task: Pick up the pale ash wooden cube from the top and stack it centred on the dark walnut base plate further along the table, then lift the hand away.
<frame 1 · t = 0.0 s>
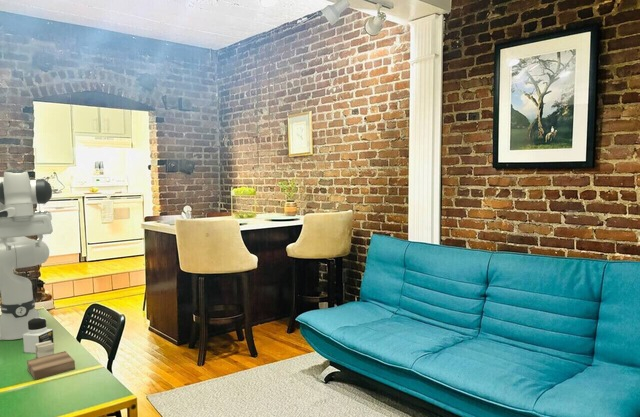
hand: (23, 248, 180), 39 cm above the table, tool pointing down, fingers open, 8 cm apart
ash cube: (45, 357, 175), on the table
walnut base: (51, 369, 164), on the table
medicine bottle: (39, 350, 183), on the table
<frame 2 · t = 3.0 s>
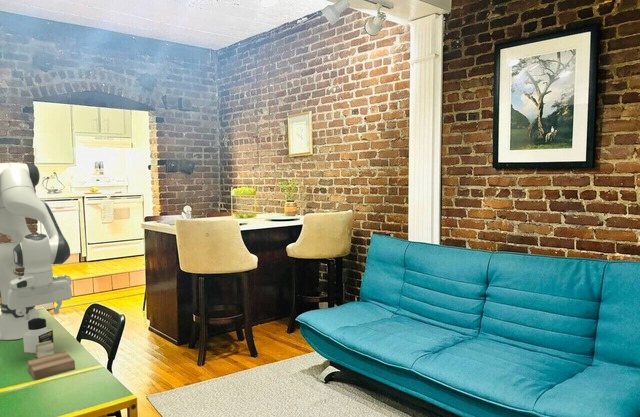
hand: (42, 316, 174), 15 cm above the table, tool pointing down, fingers open, 8 cm apart
nothing on the table moved.
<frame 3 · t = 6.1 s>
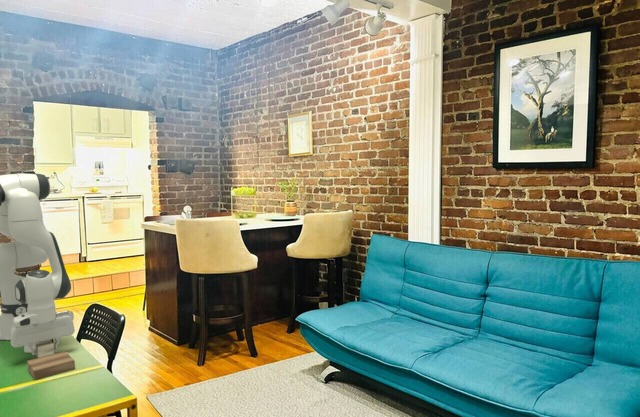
hand: (44, 352, 175), 2 cm above the table, tool pointing down, fingers closed on ash cube, 5 cm apart
ash cube: (45, 356, 175), on the table, touching gripper
everything else where it was.
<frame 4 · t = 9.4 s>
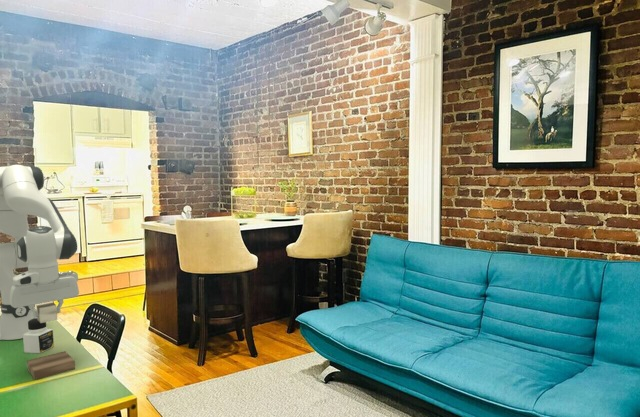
hand: (47, 314, 162), 19 cm above the table, tool pointing down, fingers closed on ash cube, 5 cm apart
ash cube: (47, 319, 162), point 17 cm above the table, touching gripper
everything else where it was.
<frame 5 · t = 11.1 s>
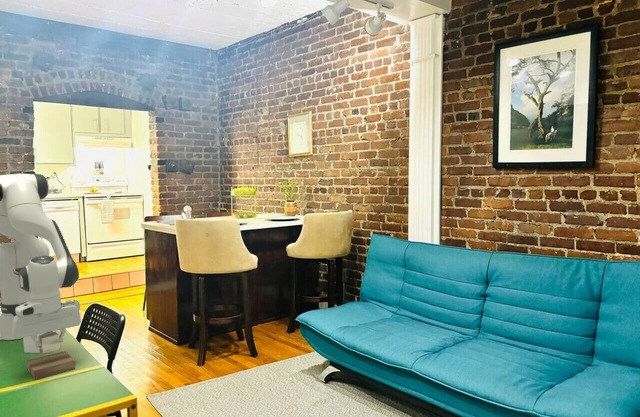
hand: (49, 344, 163), 9 cm above the table, tool pointing down, fingers closed on ash cube, 5 cm apart
ash cube: (49, 349, 163), point 7 cm above the table, touching gripper
everything else where it was.
when the fingers open (6 cm above the table, at t = 12.8 s): ash cube drops 1 cm, resting on walnut base.
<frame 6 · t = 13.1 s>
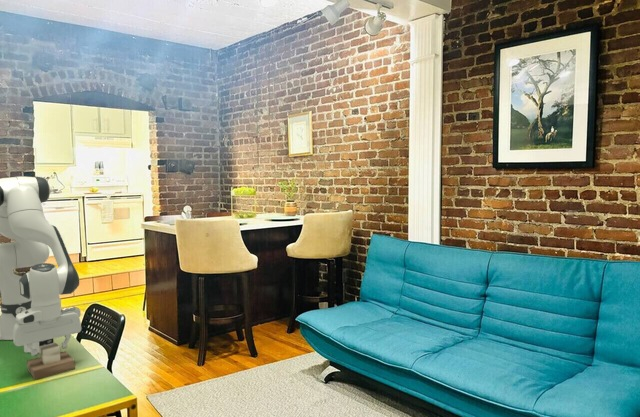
hand: (49, 351, 163), 6 cm above the table, tool pointing down, fingers open, 8 cm apart
ash cube: (50, 360, 164), point 3 cm above the table, touching walnut base
everything else where it was.
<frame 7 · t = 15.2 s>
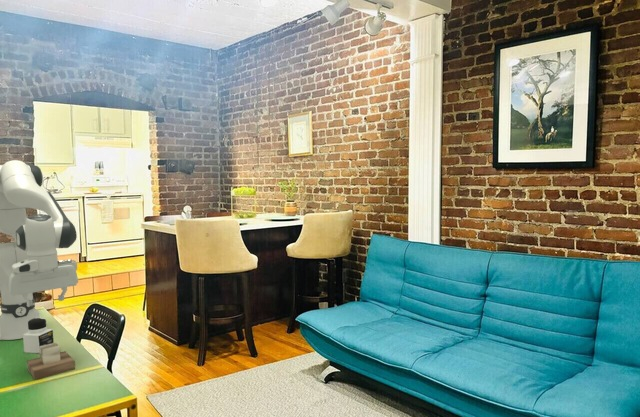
hand: (46, 303, 162), 23 cm above the table, tool pointing down, fingers open, 8 cm apart
nothing on the table moved.
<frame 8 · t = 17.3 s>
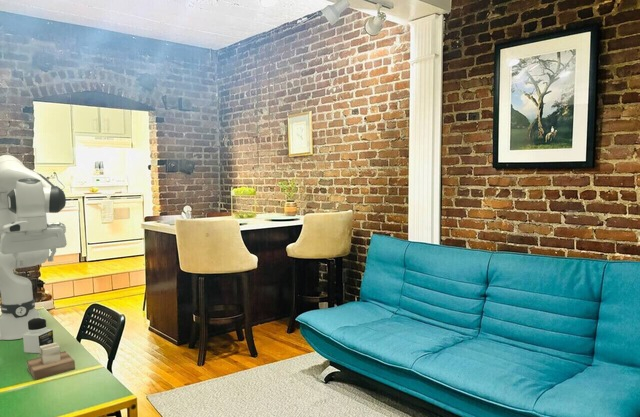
hand: (35, 263, 170), 35 cm above the table, tool pointing down, fingers open, 8 cm apart
nothing on the table moved.
at the end: ash cube 0.0 cm off-centre on the walnut base, point 3.0 cm above the walnut base's base; ash cube tilted 0°; the gripper is holding nothing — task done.
